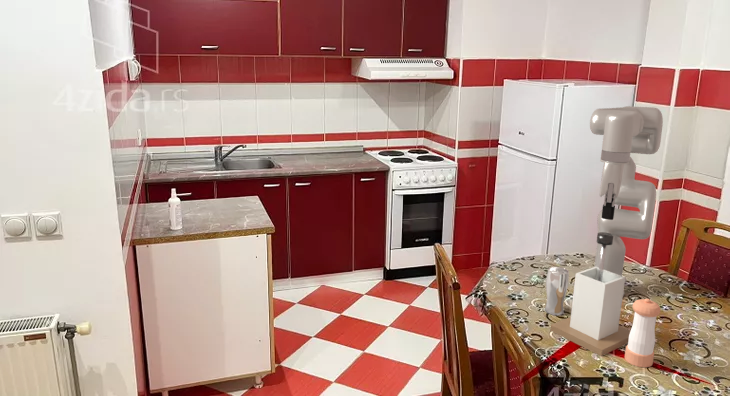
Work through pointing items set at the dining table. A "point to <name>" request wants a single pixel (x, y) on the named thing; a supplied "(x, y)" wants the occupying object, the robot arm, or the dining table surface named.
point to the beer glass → (556, 289)
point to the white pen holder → (595, 313)
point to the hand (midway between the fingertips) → (607, 218)
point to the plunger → (603, 250)
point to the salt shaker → (642, 333)
